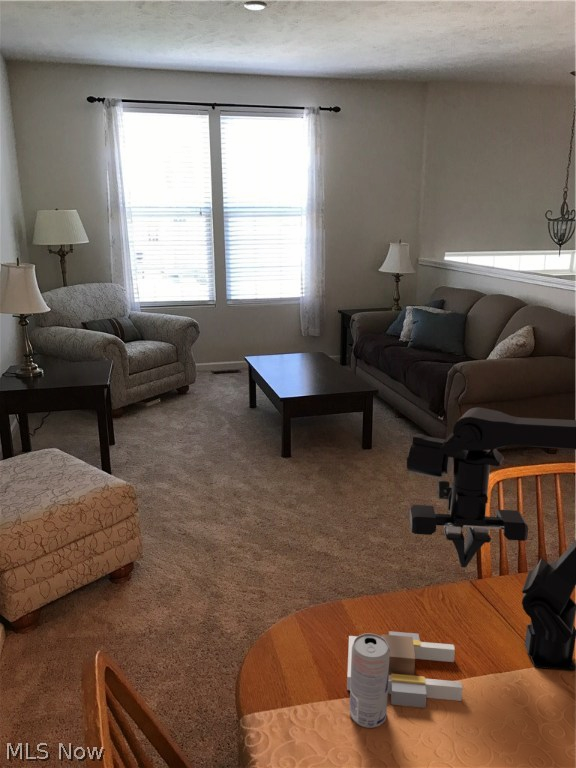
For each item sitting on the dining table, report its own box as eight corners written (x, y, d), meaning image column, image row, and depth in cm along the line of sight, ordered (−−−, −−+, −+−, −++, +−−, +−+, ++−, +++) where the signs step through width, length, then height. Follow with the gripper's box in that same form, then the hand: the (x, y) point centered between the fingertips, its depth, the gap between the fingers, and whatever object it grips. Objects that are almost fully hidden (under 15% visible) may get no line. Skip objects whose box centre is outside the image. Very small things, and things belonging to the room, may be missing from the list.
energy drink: (385, 701, 88) (388, 633, 85) (387, 731, 83) (391, 659, 80) (349, 698, 89) (351, 631, 86) (349, 727, 84) (352, 657, 81)
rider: (411, 662, 96) (412, 636, 95) (413, 685, 92) (415, 658, 90) (380, 660, 97) (381, 634, 96) (381, 682, 92) (382, 655, 91)
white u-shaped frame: (450, 648, 99) (452, 634, 99) (463, 711, 87) (465, 696, 86) (348, 639, 102) (349, 626, 101) (346, 699, 89) (346, 685, 88)
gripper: (516, 467, 105) (507, 545, 109) (409, 462, 107) (405, 538, 111) (533, 494, 94) (523, 580, 98) (414, 488, 96) (409, 572, 100)
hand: (462, 566), depth 102 cm, fingers closed
